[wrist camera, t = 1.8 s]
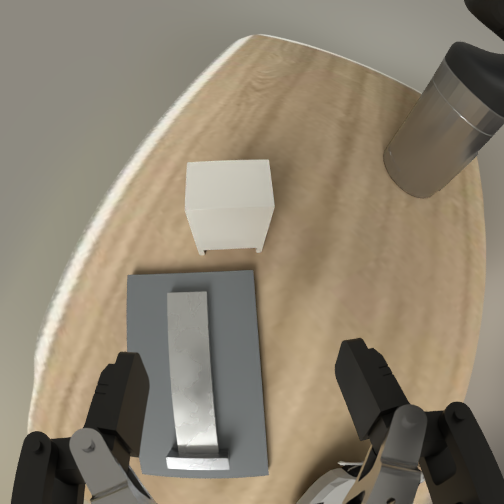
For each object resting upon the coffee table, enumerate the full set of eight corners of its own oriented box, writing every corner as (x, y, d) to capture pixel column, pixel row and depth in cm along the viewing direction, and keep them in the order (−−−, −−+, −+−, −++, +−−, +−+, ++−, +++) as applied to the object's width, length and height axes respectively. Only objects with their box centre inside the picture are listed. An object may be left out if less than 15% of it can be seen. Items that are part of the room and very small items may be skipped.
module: (257, 213, 29) (268, 157, 20) (261, 252, 28) (274, 206, 19) (199, 216, 28) (187, 160, 19) (199, 255, 27) (184, 210, 18)
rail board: (252, 272, 27) (253, 270, 26) (267, 471, 20) (268, 475, 19) (131, 277, 26) (127, 275, 25) (145, 470, 19) (142, 473, 18)
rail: (216, 293, 25) (215, 287, 23) (229, 461, 20) (229, 471, 17) (160, 295, 24) (153, 289, 22) (173, 460, 19) (168, 470, 17)
